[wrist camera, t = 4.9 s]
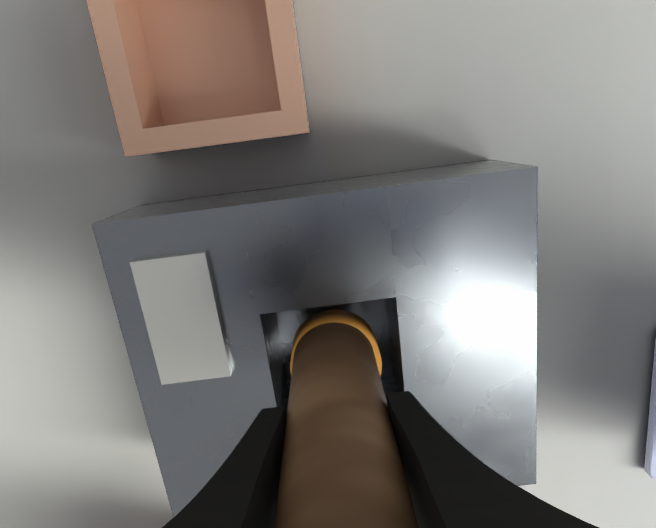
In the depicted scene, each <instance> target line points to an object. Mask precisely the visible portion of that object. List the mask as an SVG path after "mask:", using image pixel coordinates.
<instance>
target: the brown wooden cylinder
mask: <svg viewBox="0 0 656 528" xmlns="http://www.w3.org/2000/svg"><path fill="white" fill-rule="evenodd" d="M274 528H418V524H417V520H416V516H415V512H414V508H413V504H412V500H411V496H410V492H409V488H408V484H407V481H406V477H405V473H404V469H403V465H402V461H401V457H400V453H399V449H398V445H397V441H396V438H395V434H394V430H393V426H392V422H391V419H390V415H389V411H388V406H387V402H386V398H385V394H384V390H383V386H382V382H381V378H380V374H379V370H378V367H377V363H376V359H375V355H374V351H373V348H372V345H371V343H370V341H369V340H368V338H367V337H366V336H365V335H364V334H363V333H362V332H361V331H360V330H358V329H357V328H355V327H353V326H351V325H348V324H344V323H337V322H332V323H325V324H321V325H318V326H316V327H314V328H312V329H311V330H309V331H308V332H307V333H305V334H304V335H303V336H302V338H301V339H300V340H299V342H298V344H297V346H296V348H295V352H294V358H293V366H292V375H291V384H290V393H289V401H288V410H287V419H286V428H285V436H284V445H283V454H282V463H281V471H280V480H279V489H278V498H277V506H276V515H275V524H274Z"/></svg>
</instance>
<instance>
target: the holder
mask: <svg viewBox="0 0 656 528" xmlns="http://www.w3.org/2000/svg"><path fill="white" fill-rule="evenodd" d="M86 1H87V6H88V10H89V14H90V18H91V22H92V26H93V30H94V34H95V38H96V42H97V46H98V50H99V54H100V58H101V62H102V66H103V70H104V74H105V78H106V82H107V86H108V91H109V95H110V99H111V103H112V107H113V111H114V115H115V119H116V123H117V127H118V131H119V135H120V139H121V143H122V147H123V151H124V155H125V157H127V156H136V155H145V154H153V153H161V152H169V151H176V150H184V149H191V148H199V147H206V146H214V145H222V144H229V143H237V142H244V141H252V140H260V139H267V138H275V137H282V136H290V135H297V134H305V133H310V127H309V120H308V112H307V105H306V97H305V90H304V82H303V75H302V67H301V59H300V52H299V44H298V37H297V29H296V22H295V14H294V6H293V0H86Z"/></svg>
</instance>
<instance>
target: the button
mask: <svg viewBox="0 0 656 528" xmlns="http://www.w3.org/2000/svg"><path fill="white" fill-rule="evenodd" d="M332 322H337V323H344V324H348V325H351V326H353V327H355V328H357V329H358V330H360V331H361V332H362V333H363V334H364V335H365V336H366V337H367V338H368V340H369V341H370V343H371V345H372V348H373V351H374V355H375V359H376V363H377V367H378V370H379V374H380V376H381V371H382V360H381V355H380V351H379V348H378V344H377V341H376V337H375V334H374V332H373V330H372V328H371V327H370V326H369V324H368V323H367V322H366V321H365V320H364V319H362V318H361V317H360V316H358V315H356V314H354V313H352V312H349V311H345V310H337V309H333V310H325V311H322V312H319V313H316V314H314V315H312V316H311V317H309V318H308V319H307V320H305V321H304V322H303V323H302V324H301V326H300V327H299V329H298V330H297V332H296V334H295V337H294V340H293V345H292V353H291V361H290V372H291V375H292V366H293V358H294V352H295V348H296V346H297V344H298V342H299V340H300V339H301V338H302V336H303V335H304V334H305V333H307V332H308V331H309V330H311V329H312V328H314V327H316V326H318V325H321V324H325V323H332Z"/></svg>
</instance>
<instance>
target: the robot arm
mask: <svg viewBox="0 0 656 528" xmlns="http://www.w3.org/2000/svg"><path fill="white" fill-rule="evenodd" d="M386 396H387V405H388V411H389V415H390V419H391V422H392V426H393V430H394V434H395V438H396V441H397V445H398V449H399V453H400V457H401V461H402V465H403V469H404V473H405V477H406V481H407V484H408V488H409V492H410V496H411V500H412V504H413V508H414V512H415V516H416V520H417V524H418V528H599V527H596V526H594V525H591V524H589V523H587V522H585V521H582V520H580V519H578V518H576V517H574V516H572V515H570V514H568V513H566V512H564V511H562V510H560V509H558V508H556V507H554V506H552V505H550V504H548V503H546V502H544V501H542V500H541V499H539V498H537V497H535V496H534V495H532V494H530V493H529V492H527V491H525V490H523V489H522V488H520V487H518V486H517V485H515V484H513V483H512V482H510V481H509V480H507V479H506V478H504V477H503V476H501V475H500V474H498V473H497V472H496V471H494V470H493V469H491V468H490V467H488V466H487V465H486V464H484V463H483V462H482V461H481V460H479V459H478V458H477V457H476V456H474V455H473V454H472V453H471V452H470V451H468V450H467V449H466V448H465V447H464V446H463V445H461V444H460V443H459V442H458V441H457V440H456V439H455V438H454V437H453V436H451V435H450V434H449V433H448V432H447V431H446V430H445V429H444V428H443V427H442V426H441V425H440V424H439V423H438V422H437V421H436V420H435V419H434V418H433V417H432V416H431V415H430V414H429V412H428V411H427V410H426V409H425V408H424V407H423V406H422V405H421V404H420V402H419V401H418V400H417V399H416V398H415V396H414V395H413V394H412V393H411V392H409V391H403V392H395V393H387V394H386ZM285 428H286V414H285V408H284V406H281V407H273V408H264V409H262V410H261V411H260V412H259V413H258V415H257V416H256V418H255V419H254V421H253V422H252V424H251V425H250V427H249V428H248V430H247V431H246V433H245V434H244V436H243V437H242V438H241V440H240V441H239V443H238V444H237V445H236V447H235V448H234V449H233V451H232V452H231V454H230V455H229V456H228V458H227V459H226V460H225V462H224V463H223V464H222V465H221V467H220V468H219V469H218V470H217V471H216V473H215V474H214V475H213V476H212V478H211V479H210V480H209V481H208V482H207V484H206V485H205V486H204V487H203V488H202V489H201V490H200V492H199V493H198V494H197V495H196V496H195V497H194V498H193V499H192V500H191V501H190V502H189V503H188V504H187V505H186V506H185V507H184V508H183V509H182V510H181V511H180V512H179V513H178V514H177V515H176V516H175V517H174V518H173V519H172V520H170V521H169V522H168V523H167V524H166V525H165V526H164V527H162V528H274V524H275V515H276V506H277V498H278V489H279V480H280V471H281V463H282V454H283V445H284V436H285ZM644 468H645V471H646V473H647V474H648V475H649V476H650V477H651V478H653V479H656V339H655V350H654V362H653V373H652V385H651V396H650V408H649V420H648V431H647V443H646V454H645V466H644Z"/></svg>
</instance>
